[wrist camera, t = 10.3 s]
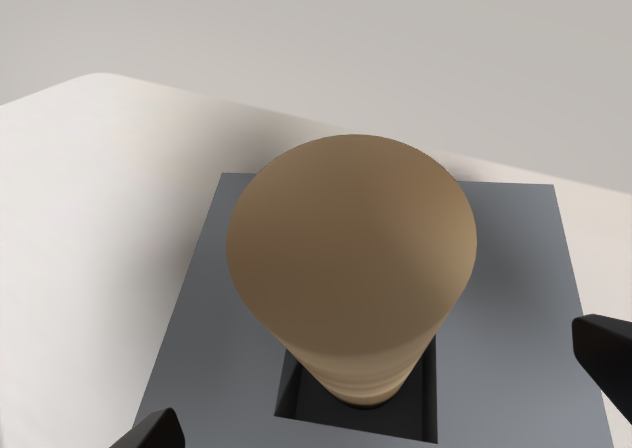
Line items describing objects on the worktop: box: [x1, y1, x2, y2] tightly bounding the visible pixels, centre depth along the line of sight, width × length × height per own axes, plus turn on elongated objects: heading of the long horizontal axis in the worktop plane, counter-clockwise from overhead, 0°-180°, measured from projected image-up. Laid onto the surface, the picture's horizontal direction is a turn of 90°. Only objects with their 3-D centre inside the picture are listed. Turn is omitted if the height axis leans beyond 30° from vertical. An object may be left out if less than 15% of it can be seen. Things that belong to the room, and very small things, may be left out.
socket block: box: [132, 173, 614, 448], centre depth 15 cm, size 16×16×5 cm
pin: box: [226, 135, 477, 410], centre depth 11 cm, size 4×4×13 cm
